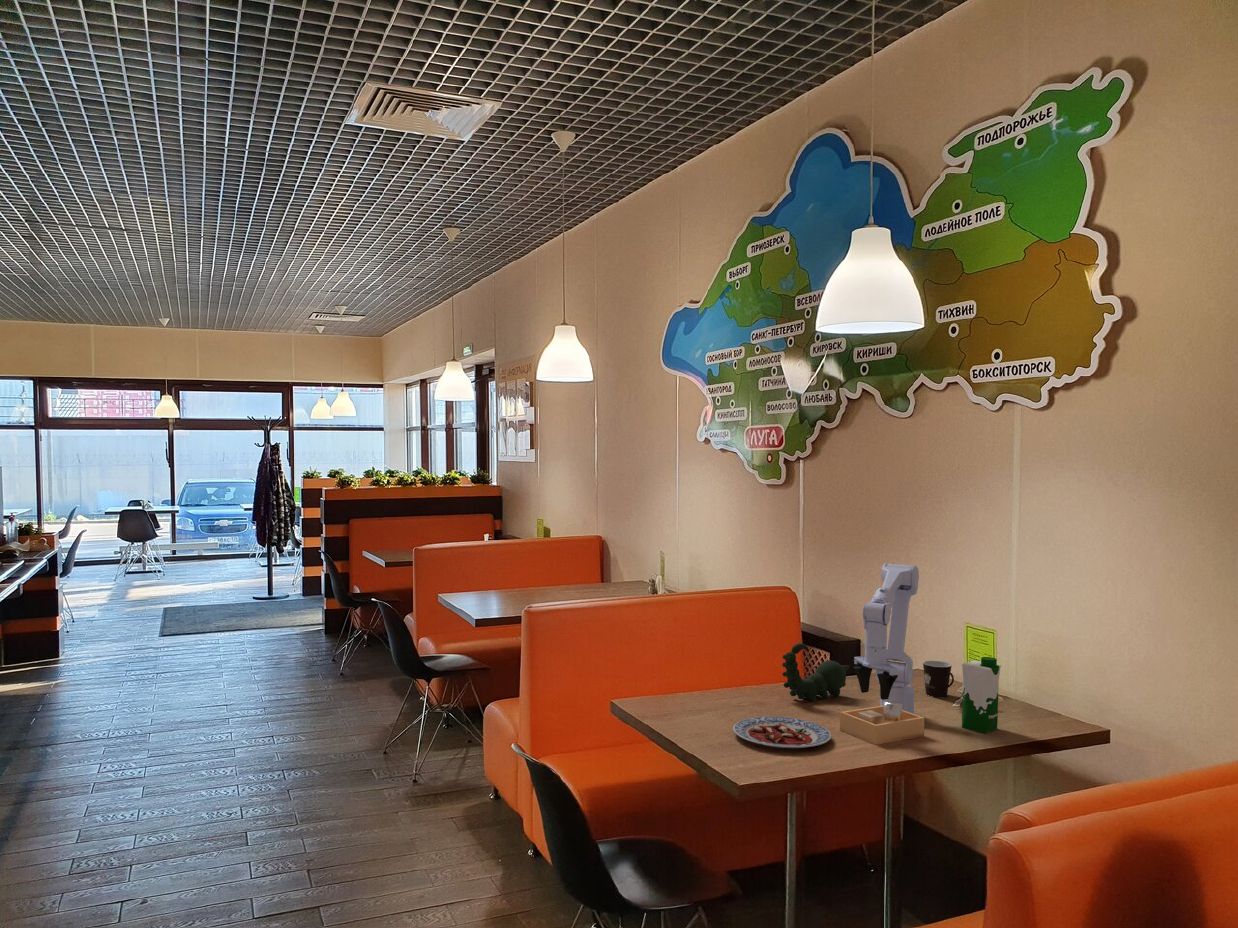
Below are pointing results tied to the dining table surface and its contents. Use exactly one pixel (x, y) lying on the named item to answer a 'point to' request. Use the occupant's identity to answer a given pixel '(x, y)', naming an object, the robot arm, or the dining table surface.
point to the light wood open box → (882, 726)
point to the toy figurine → (813, 677)
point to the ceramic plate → (782, 732)
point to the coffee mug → (937, 678)
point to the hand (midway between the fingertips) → (874, 695)
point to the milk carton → (980, 694)
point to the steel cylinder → (892, 711)
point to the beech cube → (871, 717)
